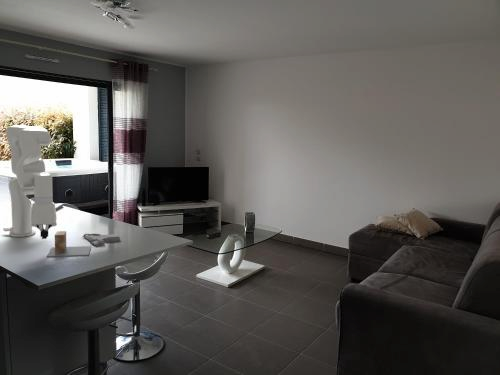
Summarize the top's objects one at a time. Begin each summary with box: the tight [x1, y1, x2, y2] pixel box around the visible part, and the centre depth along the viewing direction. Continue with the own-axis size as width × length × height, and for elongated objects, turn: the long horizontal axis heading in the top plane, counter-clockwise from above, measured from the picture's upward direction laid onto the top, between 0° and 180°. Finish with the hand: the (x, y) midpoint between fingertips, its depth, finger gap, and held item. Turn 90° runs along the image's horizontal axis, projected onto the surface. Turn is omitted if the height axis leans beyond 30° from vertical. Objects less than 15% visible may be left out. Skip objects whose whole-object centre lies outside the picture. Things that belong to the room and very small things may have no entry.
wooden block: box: [54, 230, 67, 254], centre depth 185 cm, size 4×7×9 cm, turn 18°
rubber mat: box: [46, 245, 92, 258], centre depth 186 cm, size 18×14×1 cm
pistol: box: [82, 233, 121, 247], centre depth 209 cm, size 20×3×16 cm
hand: (44, 238), depth 182 cm, fingers closed
